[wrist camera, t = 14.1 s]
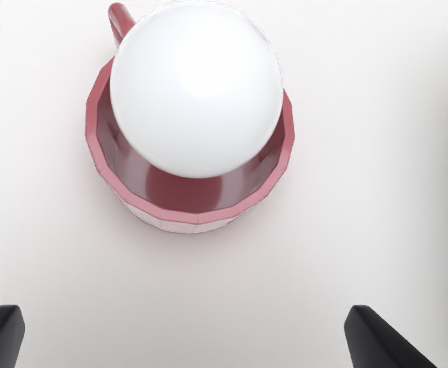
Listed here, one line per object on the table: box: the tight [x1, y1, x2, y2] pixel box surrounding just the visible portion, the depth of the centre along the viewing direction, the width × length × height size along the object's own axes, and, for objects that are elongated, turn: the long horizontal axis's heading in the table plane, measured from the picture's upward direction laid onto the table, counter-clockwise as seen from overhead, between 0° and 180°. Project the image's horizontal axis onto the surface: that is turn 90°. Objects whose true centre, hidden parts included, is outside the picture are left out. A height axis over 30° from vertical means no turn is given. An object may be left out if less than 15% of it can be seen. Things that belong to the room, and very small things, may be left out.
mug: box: [85, 2, 295, 234], centre depth 19 cm, size 13×10×6 cm
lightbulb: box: [110, 0, 283, 178], centre depth 15 cm, size 6×6×11 cm
